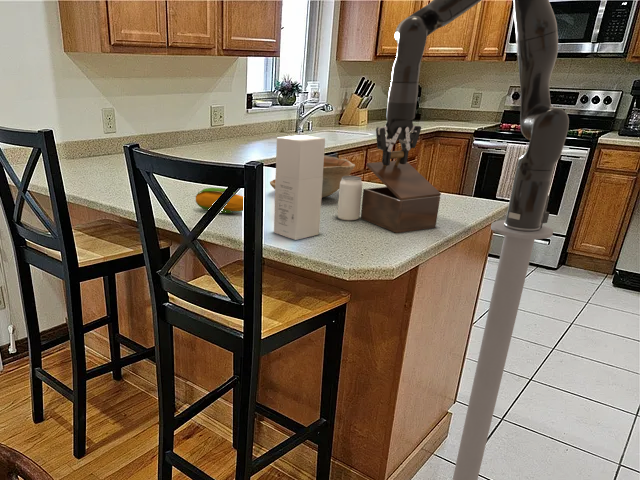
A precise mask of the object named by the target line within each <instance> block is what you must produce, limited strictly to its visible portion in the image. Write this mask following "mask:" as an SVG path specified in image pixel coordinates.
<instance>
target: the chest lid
mask: <svg viewBox="0 0 640 480" xmlns="http://www.w3.org/2000/svg"><path fill="white" fill-rule="evenodd" d="M390 152H391V158H390V165H388V166H386V165H383V163H382V161H377V162H367V163H366V165H365V166H366V167H367V168H368V169H369V170H370V172H372V173H373V175H375V176H376V177H377V178H378V179H379V180H380V182H382V184H383V185H385V187H388V188H389V190H390V191H391V192H392V193H393V194H394V195H395V196H396V197H397V198H398V199H399V200H409V199H418V198H427V197H436V196H440V197H441V195H442V193H441V192H440V191H439V190H438V189H437V188H436V187H435V186H434V185H432V184H431V182H429V180H428V179H426V178H425V177H424V176H423V175H422V174H421V173H420V172H419V171H418V170H416V168H414V167H413V166H412V164H410V163H409V162H408V161H407V162H406V164H400V163H399V162H400V159H401V158H403V157H404V152H403V151H401V150H393V151H392V150H391V151H390ZM393 159H396V160H393Z"/></svg>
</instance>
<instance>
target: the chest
mask: <svg viewBox="0 0 640 480" xmlns="http://www.w3.org/2000/svg"><path fill="white" fill-rule="evenodd" d="M440 199H441V195H440V196H436V197H427V198H418V199H409V200H399V199H398V198H397V197H396V196H395V195H394V194H393V193H392V192H391V191H390V190H389V188H388V187H387V186H379V187H368V188H362V198H361V208H360V219H361V220H364V221H366V222H368V223H371V224H373V225H376V226H378V227H380V228H383V229H385V230H388V231H391V232H393V233H395V234H401V233H406V232H415V231H420V230H429V229H434V228H437V227H436V226H437V220H438V216H439V209H440V201H441V200H440Z"/></svg>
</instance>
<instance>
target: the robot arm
mask: <svg viewBox="0 0 640 480" xmlns="http://www.w3.org/2000/svg"><path fill="white" fill-rule="evenodd" d="M480 2H482V0H431V1H430V2H429V3H428V4H426V5H425V6H423V7H422V8H420V9H418V10H417V11H415V12H413V13H412V14H410V15H409V16H407V17H406V18H404V19H403V20H401V22H399V23H398V24H397V26H396V28H395V33H394V39H395V41H396V43H397V48H396V49H397V50H396V56H395V57H396V58H395V60H394V62H393V65H392V71H391V80H390V81H391V82H390V87H389V90H388V98H387V107H386V115H385V117H386V123H385V125H384V126H381V127H380V126H377V127H376V128H375V136H376V148H377V149H378V150H381V151H382V158H381V162H382V163H383V165H386V166H388V165H390V161H391V159H390V158H391V151H392V149H393V147H394V145H395V144H396V143H397V141H398V142H399V144H400V148H401V149H400V151H403V152H404V157H403V158H401V159H400V162H399V163H400V164H406V162H408V158H409V152H410V150H411V149H415V148H416V146H417V144H418V140H419V137H420V134H421V131H422V126H421V125H415V124H414V122H413V120H415V117H416V110H417V102H418V95H419V81H420V73H421V63H422V59H423V55H424V52H425V47H426V44H427V40H428V37H429V35H431V34H433V33H434V32H436V31H437V30H438V29H441V28H443V27H445V26H448V25H449V24H450V23H452V22H454V20H456V19H458V18H459V17H461V16H462V15H464V14H465V13H466V12H468V11H470V9H472V8H473V7H474V6H476V5H477V4H479V3H480ZM552 7H553V6H552V5H551V2H550V0H513V14H514V28H515V45H516V56H517V65H518V66H517V67H518V77H519V86H520V115H519V126H520V131H521V134H522V135H523V137H525V139H527V140H529V143H528V147H527V150H526V152H524V154H522V155H520V156H518V160H517V163H516V167H515V172H514V173H515V174H514V178H513V181H512V182H513V183H512V187H511V193H510V196H509V197H510V198H509V201H508V207H507V212H506V216H505V219H504V220H505V223H504V226H505V227H506V228H509V229H512V230H516V231H524V232H534V231H539V230H540V229H541V228H542V225H544V224H547V223H548V222H549V221H548V220H549V217H550V211H547V208H548V204H549V200H550V196H549V191H550V188H551V184H552V180H553V179H552V178H553V174H554V171H555V166H556V164H557V162H558V161H559V159H561V155H562V152H563V149H564V146H565V143H566V140H567V139H566V138H567V135H568V132H569V126H570V125H569V124H570V118H569V115H568V113H567V112H566V110H565V109H562V108H560V107H555V106H552V102H551V93H550V85H551V84H550V82H551V77H552V74H553V71H554V69H555V64H556V62H557V57H558V53H559V35H558V34H559V33H558V32H559V31H558V23H557V19H556V16H555V12H554V9H553V8H552Z"/></svg>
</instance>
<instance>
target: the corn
mask: <svg viewBox="0 0 640 480" xmlns="http://www.w3.org/2000/svg"><path fill="white" fill-rule="evenodd" d="M226 189H227V188H223V187H207V188H203V189H202V190H200V191H198V193H197V194H196V195H195V203H196V204H197V206H198V207H200V208H201V209H203V210H205V211H208V209H209V208H210V207H211V206H212V204H213V203H214V202H215V201H216V200H217V199H218V198H219V197H220V196H221V195H222V193H223V192H224V191H225V190H226ZM234 194H235V195H234V196H233V197H232V198H231V199H230V201H229V202H228V203H227V205H226V206H225V207H224V209H223V211H221V212H219V213H220V214H233V212H244V211H243V195H240V194H236V193H234ZM225 211H226V212H225Z"/></svg>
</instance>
